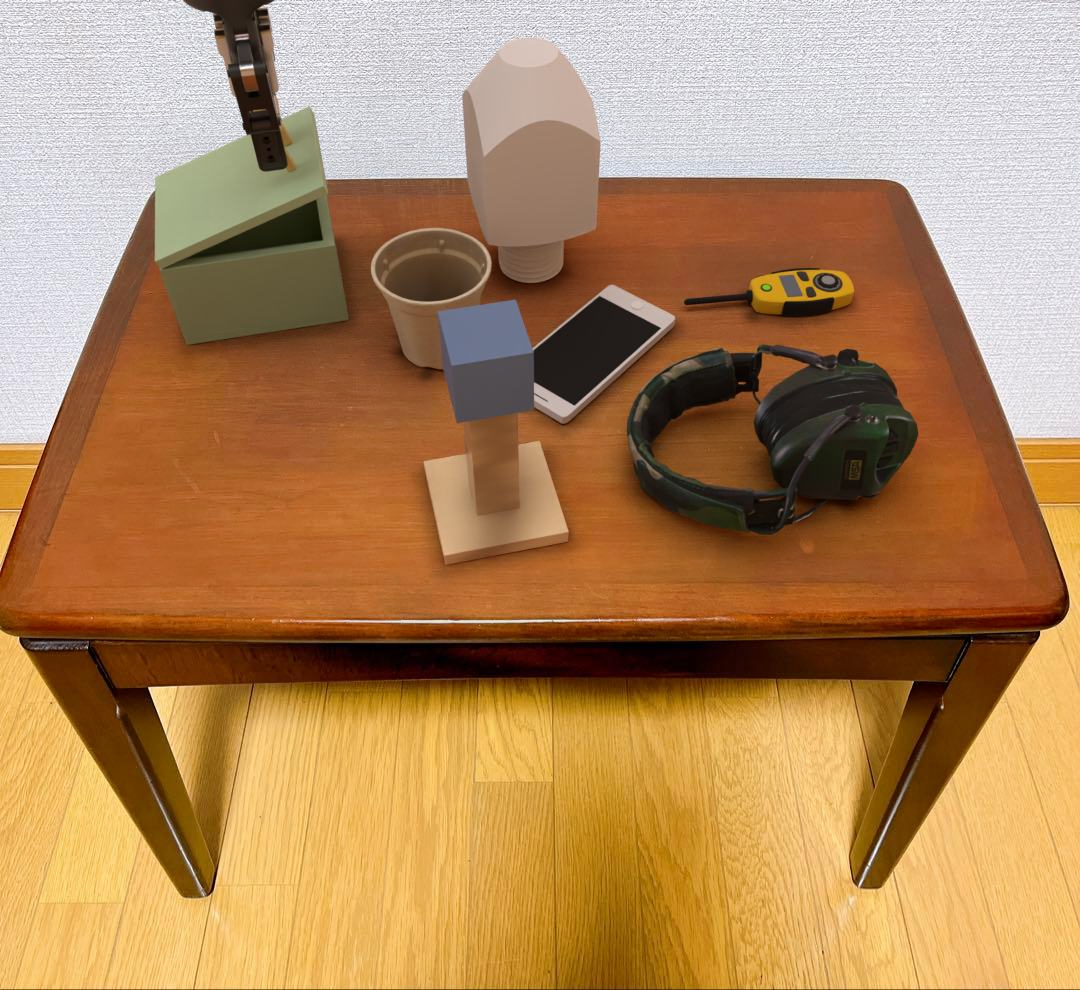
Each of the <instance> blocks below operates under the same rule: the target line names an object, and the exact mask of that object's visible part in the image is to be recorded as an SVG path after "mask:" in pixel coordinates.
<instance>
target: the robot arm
mask: <svg viewBox="0 0 1080 990" xmlns="http://www.w3.org/2000/svg"><path fill="white" fill-rule="evenodd" d="M182 1H183V2H184V3H185V4H186V5H187V6H189V7H190V8H192V9H195V10H197V11H199V12H203V13H206V12H207V13H211V14H212V18H213V24H214V27H215V29H213V34H214V39H215V44H216V48H217V52H218V54H219V56H221V57H222V58H223V63H224V66H225V71H226V76H227V80H228V84H229V88H230V93H231V95H232V96H233V97H234V98H235V99H236V103H237V106H238V110H239V113H240V117H241V120H242V123H241V125H242V130H243V131H245V134H246V135H251V138H252V142H253V146H254V150H255V154H256V158H257V162H258V166H259V168H260V170H262V171H264V172H268V171H275V170H282V169H285V168H286V167H287V165H288V163H287V157H286V152H285V148H284V143H283V139H282V134H281V130H280V126H281V122H282V120H281V119H282V116H281V112H280V113H279V114H278V111H277V106H276V101H275V97H274V95H275V96H276V97H277V94H276V93H278V92H279V89H280V82H279V77H278V74H277V69H276V68H277V67H276V63H275V62H276V54H275V51H274V48H275V41H274V36H273V27H272V20H271V17H270V11H269V7H268V5H269V4H272V3H273V2H275V1H276V0H182ZM263 6H265V7H263ZM262 109H266V110H262ZM254 110H261V111H254ZM246 135H245V136H246Z"/></svg>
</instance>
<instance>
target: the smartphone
mask: <svg viewBox="0 0 1080 990" xmlns="http://www.w3.org/2000/svg"><path fill="white" fill-rule="evenodd" d="M675 323H676V316H675V315H674V314H672V313H670V312H668V311H666V310H664V309H662V308H660V307H658V306H656V305H655V304H652V303H650V302H648V301H647V300H644V299H642V298H640V297H638V296H637V295H635V294H632V293H631V292H629V291H626V290H625V289H623V288H621V287H619V286H617V285H615V284H609V285H608V286H606V287H605V288H604V289H602V290H601V291H600V292H599V293H597V294H596V295H595V296H594V297H593V298H592V299H590V300H588V302H587V303H585V304H584V305H583V306H581V308H579V309H578V310H577V311H576V312H574V313H573V314H572V315H571V316H570V317H568V318H567V319H566V320H565V321H563V322H562V323H561V324H560V325H559V326H558V327H556V328H555V329H554V330H552V331H551V332H550V333H549V334H548V335H547V336H545V337H544V338H543V339H542V340H540V341H539V342H538V343H537V344H536V345H534V346H532V349H533V351H534V409H537V410H538V411H539V412H542V413H543V414H544V415H547V416H548V417H550V418H552V419H553V420H555V421H557V422H558V423H560V424H567V423H570V421H571V420H573V419H574V418H575V417H576V416H577V415H578V414H579V413H580V412H581V411H583V410H584V408H586V407H587V406H589V404H590V403H591V402H592V401H594V399H596V398H597V397H598V396H599V395H600V394H602V392H603V391H604V390H606V389H607V388H608V387H609V386H611V384H613V382H614V381H616V380H617V379H618V378H619V377H620V376H621V375H622V374H623V373H625V371H626V370H628V369H629V368H630V367H631V366H632V365H633V364H635V362H636V361H638V360H639V359H640V358H641V357H642V356H643V355H644V354H646V352H648V351H649V350H650V349H651V348H652V347H654V345H656V344H657V343H658V342H659V341H660V340H661V339H662V338H663V337H664V336H665V335H667V334H668V333H669V332H670V331H671V330H672V329H673V328H674V327H675Z"/></svg>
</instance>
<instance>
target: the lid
mask: <svg viewBox="0 0 1080 990" xmlns="http://www.w3.org/2000/svg"><path fill="white" fill-rule="evenodd" d="M274 97H275V101H276V106H277V111H278V114H279V113H280V114H281V111H280V105H279V104H280V103H279V99H278V98H277V95H276V96H275V95H274ZM262 110H266V109H262ZM254 111H261V110H254ZM281 120H282V122H281V126H280V130H281V134H282V139H283V143H284V148H285V152H286V157H287V163H288V165H287V167H286V168H285V169H282V170H275V171H268V172H264V171H262V170H260V168H259V166H258V162H257V158H256V154H255V150H254V146H253V142H252V138H251V135H244V136H242V137H240V138H238V139H236V140H233V141H231V142H229V143H227V144H225V145H222V146H220V147H218V148H216V149H214V150H212V151H209V152H206V153H205V154H203V155H200V156H198V157H196V158H194V159H192V160H190V161H187V162H186V163H185V162H184V163H183V164H181V165H179V166H177V167H174V168H172V169H170V170H168V171H165V172H163V173H161V174H159V175H157V176H155V178H154V179H155V180H154V186H155V188H154V263H155V264H156V265H157V266H158V267H159V269H160V268H161V269H162V268H164V267H167V266H169V265H171V264H173V263H176V262H178V261H180V260H182V259H185V258H187V257H189V256H191V255H193V254H196V253H198V252H200V251H202V250H205V249H207V248H209V247H211V246H214V245H216V244H218V243H220V242H222V241H225V240H227V239H229V238H231V237H234V236H236V235H238V234H240V233H243V232H245V231H247V230H249V229H252V228H254V227H256V226H258V225H260V224H263V223H265V222H267V221H269V220H272V219H274V218H276V217H278V216H281V215H283V214H285V213H287V212H289V211H292V210H294V209H296V208H298V207H301V206H303V205H305V204H307V203H310V202H312V201H314V200H316V199H318V198H321V197H323V196H325V195H329V189H328V184H327V177H326V172H325V166H324V161H323V155H322V150H321V144H320V138H319V133H318V127H317V121H316V116H315V113H314V110H313V109H312V108H311V106H307V107H305V108H302V109H300V110H299V111H296V112H294V113H292V114H290V115H288V116H285V117H284V118H281Z"/></svg>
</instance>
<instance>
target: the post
mask: <svg viewBox="0 0 1080 990" xmlns="http://www.w3.org/2000/svg"><path fill="white" fill-rule="evenodd" d="M518 414H519V413H515V414H509V415H503V416H497V417H492V418H486V419H480V420H474V421H468V422H462V423H463V434H464V447H465V448H464V449H465V453H462V454H457V455H451V456H450V455H449V456H446V457H440V458H433V459H428V460H423V470H424V474H425V479H426V484H427V487H428V493H429V498H430V503H431V507H432V512H433V516H434V521H435V525H436V526H435V527H436V530H437V534H438V539H439V544H440V548H441V553H442V557H443V563H444V565H445V566H448V565H452V564H459V563H463V562H468V561H474V560H480V559H485V558H490V557H494V556H495V557H496V556H499V555H505V554H510V553H515V552H520V551H526V550H532V549H536V548H537V549H538V548H541V547H547V546H553V545H558V544H562V543H563V544H564V543H568V542H569V535H570V534H569V533H570V532H569V528H568V524H567V522H566V519H565V515H564V512H563V509H562V506H561V503H560V499H559V497H558V493H557V491H556V487H555V484H554V480H553V478H552V474H551V472H550V468H549V465H548V462H547V459H546V455H545V453H544V450H543V447H542V444H541V441H540V440H536V441H530V442H525V443H519V427H518V426H519V419H518V417H519V416H518Z"/></svg>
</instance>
